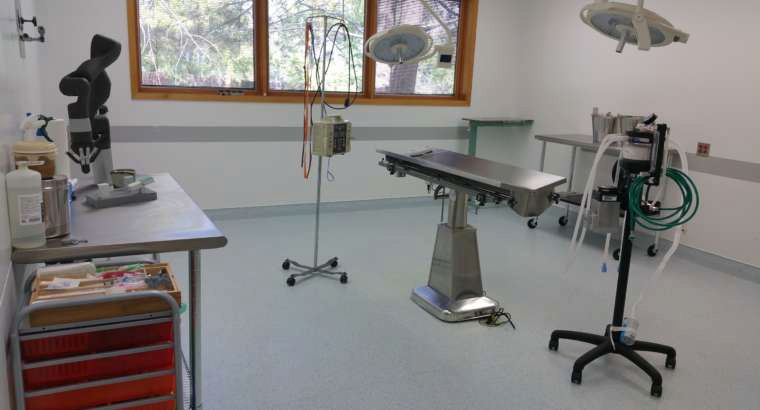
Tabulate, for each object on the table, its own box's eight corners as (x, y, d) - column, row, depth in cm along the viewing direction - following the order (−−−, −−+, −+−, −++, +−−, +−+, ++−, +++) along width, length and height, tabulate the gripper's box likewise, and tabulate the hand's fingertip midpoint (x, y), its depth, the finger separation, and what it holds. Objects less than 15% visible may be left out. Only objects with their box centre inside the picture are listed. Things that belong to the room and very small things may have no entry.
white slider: (99, 197, 223) (97, 184, 221) (107, 196, 225) (106, 183, 223) (101, 198, 220) (100, 185, 219) (110, 197, 222) (109, 184, 221)
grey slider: (124, 189, 238) (122, 176, 236) (132, 188, 240) (130, 175, 238) (127, 190, 235) (125, 178, 234) (135, 189, 237) (133, 177, 236)
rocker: (128, 189, 231) (126, 184, 230) (150, 180, 237) (148, 175, 236) (132, 191, 227) (130, 186, 226) (155, 182, 233) (153, 177, 232)
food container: (144, 190, 251) (141, 168, 249) (137, 193, 245) (134, 171, 243) (118, 189, 252) (116, 168, 250) (111, 192, 246) (108, 170, 244)
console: (86, 201, 229) (84, 188, 228) (144, 193, 245) (142, 181, 244) (97, 208, 218) (95, 194, 217) (157, 198, 234) (155, 186, 233)
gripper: (95, 128, 219) (100, 170, 223) (58, 130, 210) (65, 174, 214) (101, 129, 213) (106, 172, 218) (64, 132, 205) (70, 177, 209)
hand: (86, 173), depth 216 cm, fingers closed
